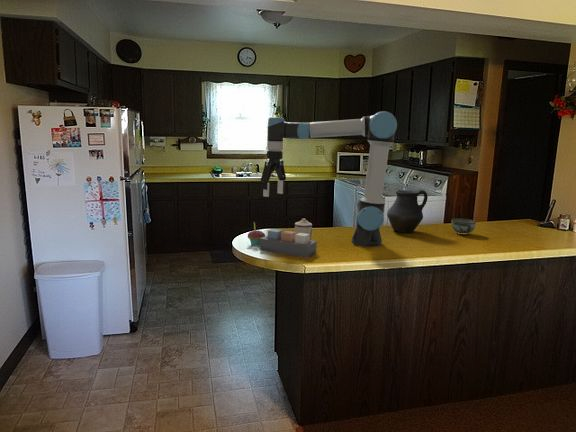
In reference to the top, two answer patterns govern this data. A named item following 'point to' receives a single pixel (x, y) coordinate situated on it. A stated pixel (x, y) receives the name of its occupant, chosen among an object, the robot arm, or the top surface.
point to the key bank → (288, 247)
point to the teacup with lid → (303, 227)
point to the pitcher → (406, 210)
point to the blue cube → (274, 234)
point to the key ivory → (302, 238)
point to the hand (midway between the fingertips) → (273, 195)
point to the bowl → (463, 225)
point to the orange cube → (288, 236)
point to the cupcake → (255, 236)
